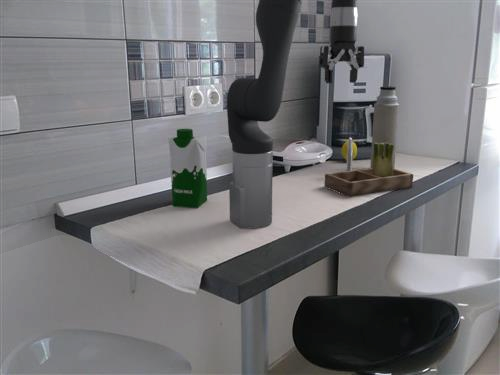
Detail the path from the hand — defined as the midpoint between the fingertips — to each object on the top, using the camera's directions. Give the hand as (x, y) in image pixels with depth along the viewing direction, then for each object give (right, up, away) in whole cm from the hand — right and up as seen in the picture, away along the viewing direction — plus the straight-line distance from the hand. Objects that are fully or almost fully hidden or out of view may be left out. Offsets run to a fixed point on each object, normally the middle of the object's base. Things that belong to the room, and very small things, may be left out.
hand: (341, 82), depth 146 cm
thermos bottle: (+18, -25, +24) cm, 39 cm away
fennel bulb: (+13, -29, +5) cm, 32 cm away
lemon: (+10, -21, +37) cm, 44 cm away
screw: (+5, -28, +14) cm, 31 cm away
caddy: (+8, -31, +2) cm, 32 cm away
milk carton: (-43, -35, -13) cm, 57 cm away
